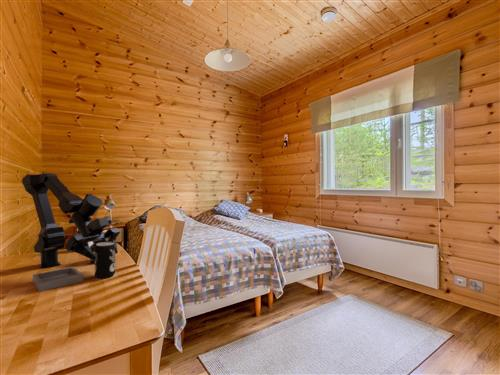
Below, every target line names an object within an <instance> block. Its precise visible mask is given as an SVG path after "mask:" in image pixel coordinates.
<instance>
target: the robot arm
mask: <svg viewBox="0 0 500 375" xmlns="http://www.w3.org/2000/svg"><path fill="white" fill-rule="evenodd" d="M21 184H22V185H23V188H24V190H25V192H27V193H28V194H29V195H31V197H32V200H33V203H34V204H33V205H34V206H35V209H36V214H37V218H38V221H39V222H38V223H39V226H40V230H39V233H38V235H37V236H38V240H37V241H36V243H35V245H33V250H34V253H39V254H40V263H38V264H37V265H38V267H39V268H40V269H45V268H50V267H55V266H60V265H62V264H61V262H59V250H60V249H66V251H67V252H72V253H76V254H79V255H81V256H83V257H86V258H88V259H89V260H90V259H91V260H95V259H96V258H95V256H94V254H93V252H92V251H91V249H90V247H89V246H88V242H92V241H97V240H102V239H103V241H104V242H113V243H114V246H115V255H116V254H118V250H119V249H118V245H117V239H118V238H117V237H118V236H119V235H120V233H121V231H120V229H119V227H113V228H108V229H107V230H106V231H105V228H106V227H109V226H110V225H111V224H112V223H113V222H112V218H111V217H110V216H108V215H107V216H104V217H99V218H95V219H94V220H93V218H92V217H94V216H95V215H96V213H97V212H98V211H99V209H100V208H101V206H102V205H103V200H102V198H100V197H98V196H95V195H93V193H86V194H85V196H84V198H82V197H80V196H79V195H78V194H75V193H72V192H71V191H70V190H69V189H68V188H67V186H66V185H64V183H63V182H62V181H61V180H60V179H59V177H58V175H57V174H56V173H53V172H52V173H51V172H50V173H49V172H48V173H47V172H43V173H39V174H34V173H33V174H29V173H28V174H26V175H24V177H22V178H21ZM48 190H49V191H50V192H51V193H52V194H53V196H54V197H56V199H57V201H58V207H59V209H60V211H61V212H62V213H63V214H66V215H67V214H68V215H69V214H72V215H71V216H69V220H68V224H74V225H75V227H76V230H77V229H78V231H76V234H74V235H71V236H70V238H69V239H68V240H67V242H66V233H65V230H64V227H63V226H62V225H61V226H58V225H57V224H56V220H55V216H54V214H53V210H52V206H51V202H50V199H49V196H48ZM101 232H106V233H105V234H102V233H101ZM77 233H78V234H79V235H77Z"/></svg>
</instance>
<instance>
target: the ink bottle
mask: <svg viewBox="0 0 500 375" xmlns="http://www.w3.org/2000/svg"><path fill="white" fill-rule="evenodd" d="M101 233H102V234H105V233H106V231H103V232H101ZM102 242H104V241H103V239H102V240H97V241H93V244H92V245H91V246H90V249H91V251H92V252H93V254H94V256H95V247H96V244H98V243H102ZM89 262H90V263H94V264H95V260H91V259H89Z"/></svg>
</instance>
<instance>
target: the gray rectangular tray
mask: <svg viewBox="0 0 500 375" xmlns="http://www.w3.org/2000/svg"><path fill="white" fill-rule="evenodd" d="M81 282H82V283H83V282H84V274H83V273H82V272H81V271H79V270H78V269H77V268H76V267H74V266H71V267H64V268H61V269H55V270H50V271H45V272H40V273H34V274H32V283H33V284H34V286H35V287H36V290H38V292H44V291H47V290H51V289H56V288H60V287H64V286H70V285H73V284H78V283H81Z"/></svg>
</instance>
